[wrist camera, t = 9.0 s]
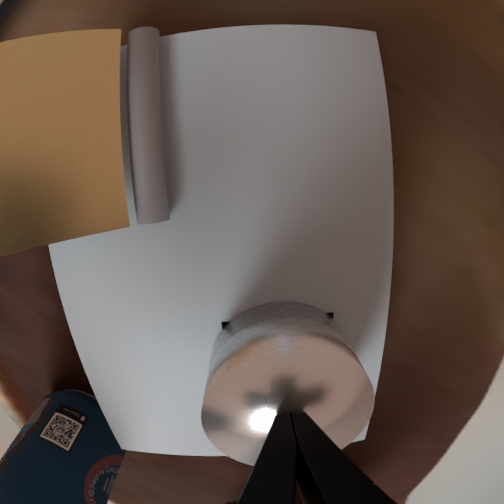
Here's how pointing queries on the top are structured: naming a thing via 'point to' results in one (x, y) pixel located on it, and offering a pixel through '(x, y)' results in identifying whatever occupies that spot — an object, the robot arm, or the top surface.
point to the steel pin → (282, 378)
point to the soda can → (62, 454)
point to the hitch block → (232, 214)
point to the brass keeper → (60, 138)
